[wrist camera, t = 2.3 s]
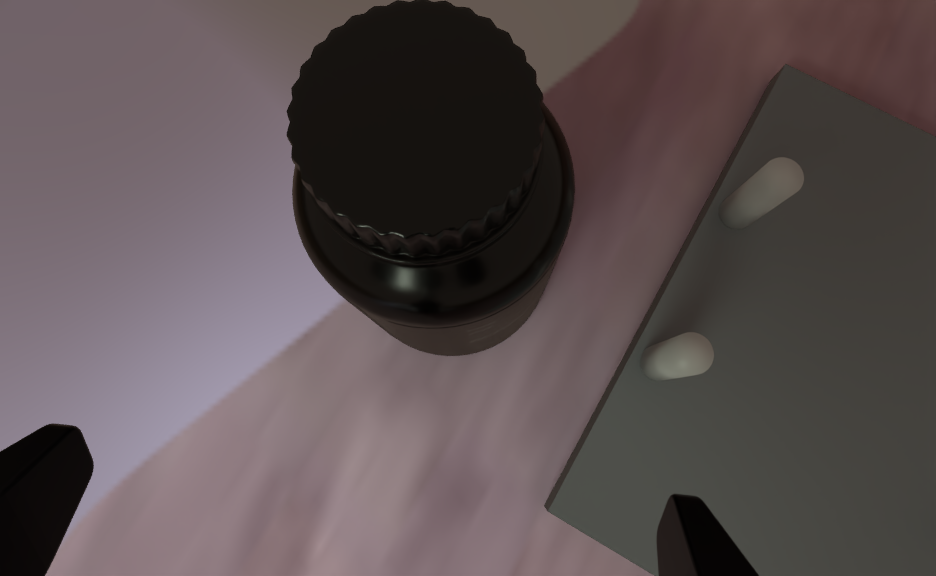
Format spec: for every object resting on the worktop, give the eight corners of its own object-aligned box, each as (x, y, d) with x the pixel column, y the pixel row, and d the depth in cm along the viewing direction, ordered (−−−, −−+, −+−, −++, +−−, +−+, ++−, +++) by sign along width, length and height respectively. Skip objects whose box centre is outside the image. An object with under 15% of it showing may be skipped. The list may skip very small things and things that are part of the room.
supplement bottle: (533, 167, 24) (583, -71, 12) (556, 347, 23) (639, 278, 11) (351, 186, 24) (224, -33, 12) (365, 367, 23) (236, 321, 11)
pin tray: (905, 722, 20) (1032, 816, 15) (544, 505, 22) (561, 531, 17) (1102, 243, 23) (1260, 201, 18) (770, 80, 24) (838, 3, 20)
